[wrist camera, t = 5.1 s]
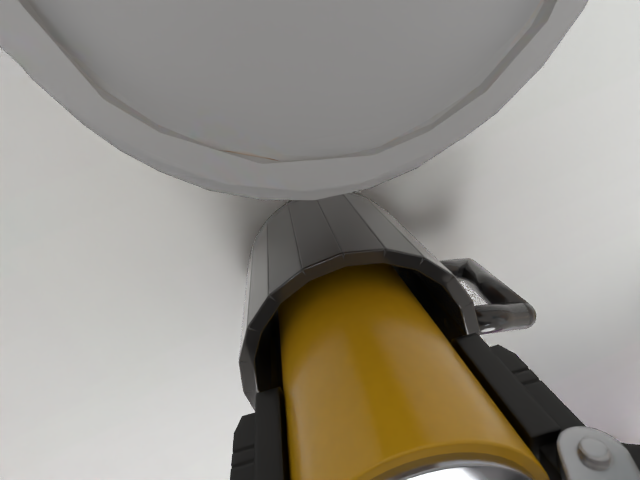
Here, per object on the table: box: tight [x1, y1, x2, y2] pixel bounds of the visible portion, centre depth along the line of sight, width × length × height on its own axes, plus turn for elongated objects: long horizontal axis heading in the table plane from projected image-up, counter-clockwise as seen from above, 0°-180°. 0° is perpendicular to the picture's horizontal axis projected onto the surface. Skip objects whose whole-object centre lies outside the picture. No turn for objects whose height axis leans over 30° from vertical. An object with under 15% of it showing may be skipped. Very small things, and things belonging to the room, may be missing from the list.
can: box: [278, 263, 550, 480], centre depth 13 cm, size 5×5×12 cm
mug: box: [239, 192, 536, 410], centre depth 16 cm, size 11×8×8 cm
